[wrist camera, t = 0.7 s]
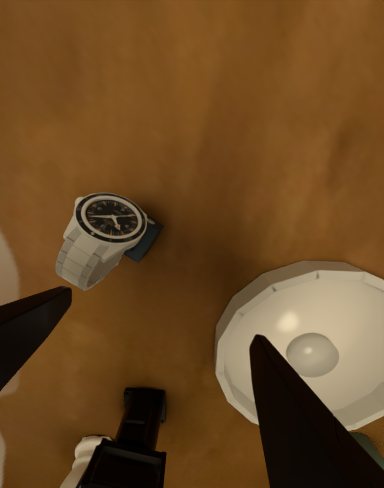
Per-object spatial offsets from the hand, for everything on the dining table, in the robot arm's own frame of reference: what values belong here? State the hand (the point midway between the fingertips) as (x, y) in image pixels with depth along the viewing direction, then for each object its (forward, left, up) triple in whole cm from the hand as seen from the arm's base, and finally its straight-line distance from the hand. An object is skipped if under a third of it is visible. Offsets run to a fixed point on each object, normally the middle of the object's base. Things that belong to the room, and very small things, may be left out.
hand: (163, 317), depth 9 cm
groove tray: (-14, -17, -14) cm, 26 cm away
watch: (+2, +6, -15) cm, 16 cm away
